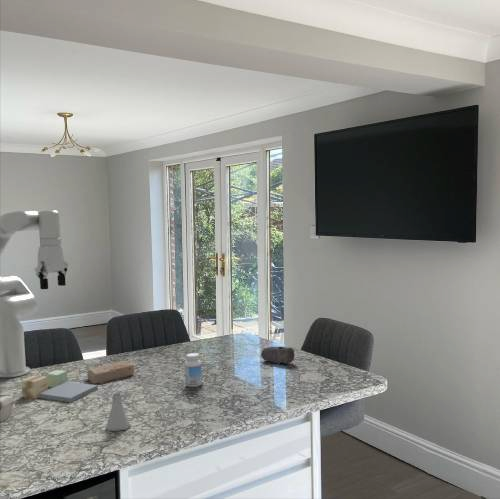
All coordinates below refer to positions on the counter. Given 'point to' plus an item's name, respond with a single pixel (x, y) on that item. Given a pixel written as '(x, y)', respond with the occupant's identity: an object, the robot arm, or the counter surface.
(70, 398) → the board
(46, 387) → the beech block
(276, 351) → the perforated stone tool
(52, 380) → the sage block
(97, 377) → the brick
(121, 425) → the flask
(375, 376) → the counter surface
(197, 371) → the pill bottle
